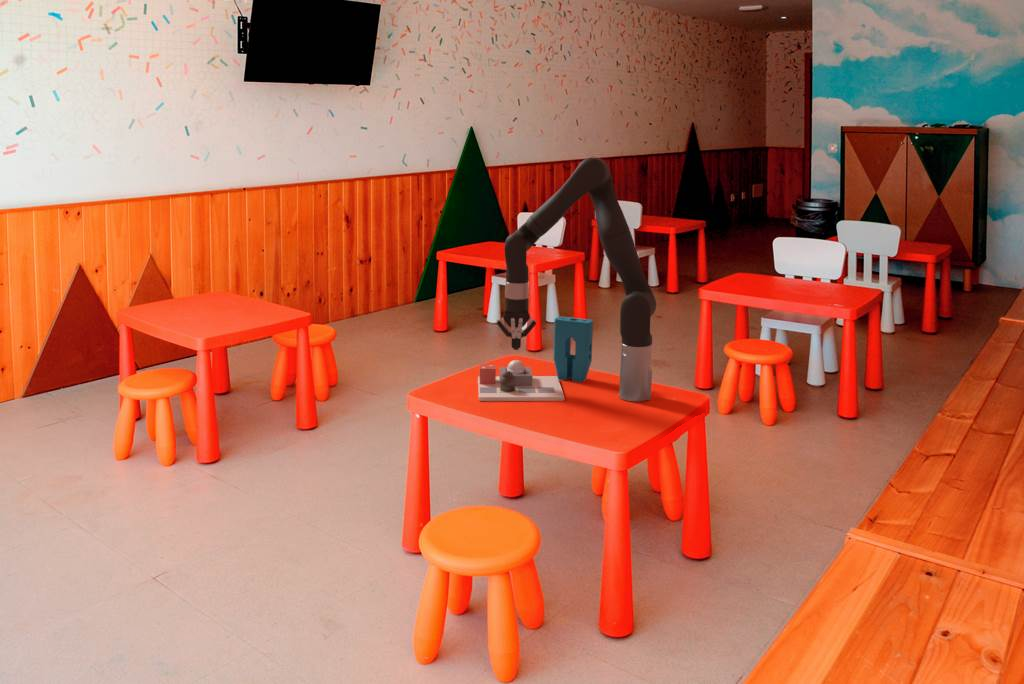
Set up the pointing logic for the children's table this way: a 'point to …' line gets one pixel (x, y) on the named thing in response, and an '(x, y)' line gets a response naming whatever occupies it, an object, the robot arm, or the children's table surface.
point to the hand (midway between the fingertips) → (515, 349)
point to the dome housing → (519, 377)
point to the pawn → (507, 382)
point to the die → (487, 374)
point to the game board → (523, 390)
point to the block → (563, 359)
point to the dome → (516, 367)
